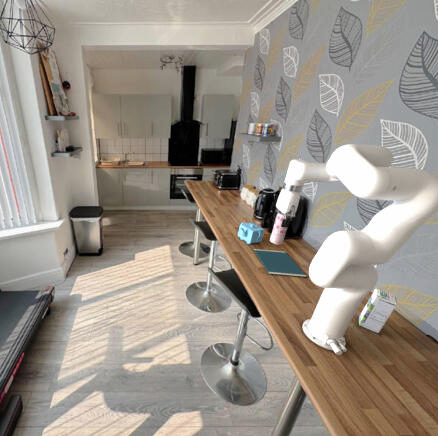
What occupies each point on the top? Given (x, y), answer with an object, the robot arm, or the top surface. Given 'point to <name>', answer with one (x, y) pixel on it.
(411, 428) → the top surface
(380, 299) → the syrup box
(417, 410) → the top surface
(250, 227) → the light blue box
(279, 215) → the beverage can
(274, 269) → the teal book
